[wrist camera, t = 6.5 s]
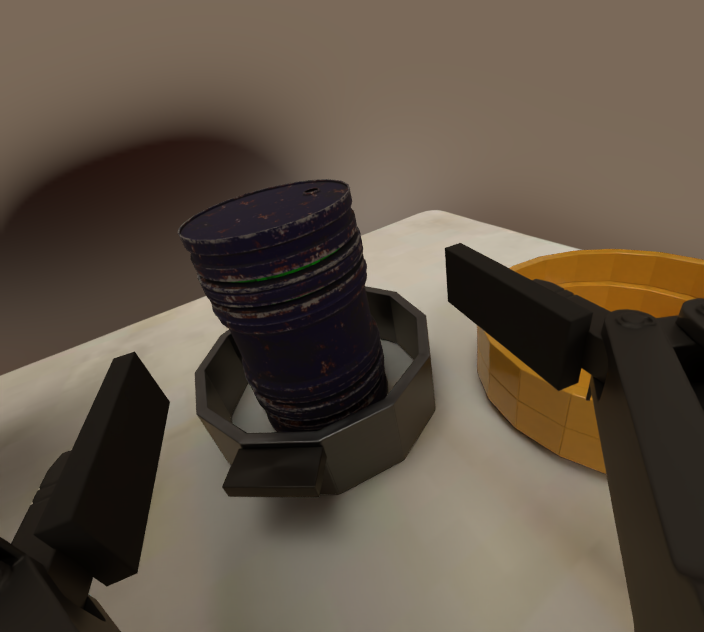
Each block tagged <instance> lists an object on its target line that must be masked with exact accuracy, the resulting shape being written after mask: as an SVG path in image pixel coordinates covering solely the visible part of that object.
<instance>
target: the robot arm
mask: <svg viewBox="0 0 704 632" xmlns="http://www.w3.org/2000/svg"><path fill="white" fill-rule="evenodd" d="M445 258H446V275H447V292H448V302H449V303H451V304H452V305H453V306H454V307H456V308H457V309H458V310H459V311H460V312H462V313H463V314H464V315H465V316H467V317H468V318H469V319H470V320H472V321H473V322H474V323H475V324H476V325H478V326H479V327H480V328H481V329H483V330H484V331H485V332H486V333H488V334H489V335H490V336H491V337H492V338H494V339H495V340H496V341H497V342H499V343H500V344H501V345H502V346H504V347H505V348H506V349H507V350H508V351H510V352H511V353H512V354H513V355H515V356H516V357H517V358H518V359H520V360H521V361H522V362H523V363H524V364H526V365H527V366H528V367H529V368H531V369H532V370H533V371H534V372H536V373H537V374H538V375H539V376H540V377H542V378H543V379H544V380H545V381H547V382H548V383H549V384H550V385H552V386H553V387H554V388H555V389H556V390H558V391H560V390H563V389H565V388H567V387H570V386H572V385H574V384H576V383H578V382H579V377H580V373H581V368H582V369H583V370H585V371H586V372H588V373H589V374H591V378H590V383H589V387H588V391H587V395H586V401H590V398H591V396H592V399H593V404H594V410H595V415H596V421H597V426H598V431H599V437H600V442H601V448H602V453H603V458H604V464H605V469H606V475H607V480H608V485H609V491H610V496H611V501H612V507H613V512H614V518H615V523H616V528H617V534H618V539H619V545H620V550H621V555H622V561H623V566H624V572H625V577H626V582H627V588H628V593H629V598H630V604H631V609H632V615H633V621H634V632H704V298H696V299H691V300H687V301H686V302H684V303H683V304H682V307H681V309H680V312H679V315H676V316H668V317H661V318H655V317H654V316H652V315H650V314H648V313H645V312H641V311H638V310H630V309H622V310H615V311H611V312H610V311H608V310H606V309H604V308H602V307H600V306H598V305H596V304H594V303H592V302H590V301H588V300H586V299H584V298H582V297H580V296H578V295H574V293H572V292H570V291H568V290H564V288H562V287H560V286H558V285H556V284H554V283H552V282H549V281H544V280H540V279H534V280H530V279H528V278H527V277H525V276H523V275H521V274H519V273H517V272H515V271H513V270H511V269H509V268H507V267H505V266H504V265H502V264H500V263H498V262H496V261H494V260H492V259H490V258H488V257H486V256H484V255H483V254H481V253H479V252H477V251H475V250H473V249H471V248H469V247H467V246H465V245H463V244H462V243H459V244H456V245H453V246H450V247H447V248H445ZM169 404H170V402H169V400H168V399H167V397H166V396H165V394H164V393H163V391H162V390H161V389H160V387H159V386H158V384H157V383H156V381H155V380H154V379H153V377H152V376H151V374H150V373H149V371H148V370H147V368H146V367H145V366H144V364H143V363H142V361H141V360H140V358H139V357H138V356H137V354H136V353H135V352H132V353H129V354H126V355H123V356H120V357H117V358H114V359H113V361H112V363H111V366H110V368H109V370H108V372H107V374H106V376H105V379H104V381H103V383H102V385H101V387H100V390H99V392H98V394H97V396H96V398H95V400H94V403H93V405H92V407H91V409H90V411H89V414H88V416H87V418H86V420H85V422H84V424H83V427H82V429H81V431H80V433H79V435H78V438H77V440H76V442H75V444H74V446H73V448H72V450H71V451H68V452H65V453H62V454H61V456H60V457H59V458H58V459H57V460H56V461H55V463H54V464H53V465H52V466H51V467H50V469H49V470H48V471H47V473H46V475H45V477H44V479H43V481H42V483H41V485H40V487H39V488H40V490H38V491H37V493H36V495H35V497H34V499H33V501H32V502H33V504H32V505H30V507H29V509H28V511H27V513H26V515H25V517H24V519H23V521H22V523H21V525H20V527H19V529H18V531H17V533H16V535H15V537H14V539H13V541H12V543H11V544H10V543H9V542H7V541H6V540H4V539H3V538H1V537H0V632H121V631H120V630H119V628H118V627H117V626H116V624H115V623H114V622H113V621H112V619H111V618H110V617H109V615H108V614H107V613H106V612H105V610H104V609H103V608H102V606H101V605H100V604H99V602H98V601H97V600H96V599H95V598H93V597H92V596H90V595H89V594H88V593H89V590H90V586H91V583H92V579H93V577H94V578H95V579H97V580H98V581H100V582H101V583H103V584H104V585H105V586H109V585H111V584H114V583H116V582H118V581H121V580H123V579H125V578H127V577H130V576H132V575H134V574H137V572H138V567H139V562H140V557H141V551H142V546H143V541H144V536H145V530H146V525H147V520H148V514H149V509H150V504H151V499H152V493H153V488H154V483H155V478H156V472H157V467H158V462H159V456H160V451H161V446H162V441H163V435H164V430H165V425H166V419H167V414H168V409H169Z"/></svg>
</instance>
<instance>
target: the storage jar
mask: <svg viewBox="0 0 704 632" xmlns="http://www.w3.org/2000/svg"><path fill="white" fill-rule="evenodd" d="M351 204H352V198H351V193H350V188H349V185H348V184H347V183H345V182H343V181H339V180H329V179H322V180H308V181H301V182H294V183H288V184H283V185H278V186H274V187H269V188H266V189H262V190H258V191H254V192H251V193H248V194H244V195H241V196H238V197H235V198H232V199H230V200H227V201H224V202H222V203H219V204H217V205H214V206H212V207H210V208H208V209H206V210H204V211H202V212H200V213H198V214H196V215H195V216H193V217H191V218H190V219H188V220H187V221H186V222H184V223H183V224H182V225H181V227H180V228H179V230H178V234H179V236H180V238H181V240H182V242H183V244H184V247H185V248H186V249H187V250H188V251H189V252H190V253H191V261H192V263H193V265H194V267H195V269H196V271H197V275H198V280H199V282H200V284H201V286H202V288H203V290H204V292H205V294H206V296H207V297H208V299H210V301H211V304H212V308H213V312H214V313H215V315H216V316H217V317H218V318H219V320H220V321H221V323H222V324H223V325H224V326H226V327H227V328H229V330H230V332H231V334H232V336H233V338H234V340H235V342H236V344H237V346H238V349H239V351H240V353H241V355H242V357H243V360H242V365H243V369H244V373H245V377H246V379H247V381H248V383H249V384H250V385H251V387H252V390H253V392H254V394H255V396H256V398H257V400H258V402H259V404H260V405H261V406H262V407H263V408H264V410H265V412H266V413H267V416H268V419H269V421H270V423H271V424H272V426H273V428H274V429H275V430H276V431H277V432H303V431H318V430H321V429H323V428H325V427H327V426H329V425H331V424H333V423H335V422H337V421H339V420H341V419H343V418H345V417H348V416H350V415H352V414H354V413H356V412H358V411H360V410H362V409H364V408H366V407H368V406H370V405H373V404H375V403H377V402H379V401H381V400H383V399H385V397H386V396H387V391H388V384H387V378H386V374H385V371H384V355H383V349H382V345H381V341H380V333H379V329H378V327H377V324H376V321H375V320H374V318H373V317H372V316H371V314H370V309H369V304H368V299H367V294H366V289H365V283H366V279H367V273H366V269H367V264H366V261H365V259H364V257H363V246H362V240H361V236H360V231H359V228H358V227H357V224H356V219H355V214H354V211H353V210H352V209H351Z"/></svg>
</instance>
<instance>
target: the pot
mask: <svg viewBox="0 0 704 632" xmlns="http://www.w3.org/2000/svg"><path fill="white" fill-rule="evenodd" d="M365 289H366V294H367V299H368V304H369V309H370V314H371V316H372V317H373V318H374V320H375V321H376V324H377V327H378V329H379V333H380V338H381V339H385V340H388V341H392V342H395V343H398V344H399V345H400V346H401V347H402V349H403V350H404V351H405V352H406V353H407V354H408V355H409V356H410V357H411V358H412V359H413V360H414V361H413V363H412V364H411V365H410V366H409V368H408V369H407V370H406V372H405V373H404V374H403V375H402V377H401V378H400V379H399V381H398V382H397V383H396V384H395V386H394V387H393V388H392V390H391V391H390V392H389V393H388V395H387V396H386V397H385V399H383V400H381V401H379V402H377V403H375V404H373V405H370V406H368V407H366V408H364V409H362V410H360V411H358V412H356V413H354V414H352V415H350V416H348V417H345V418H343V419H341V420H339V421H337V422H335V423H333V424H331V425H329V426H327V427H325V428H323V429H321V430H318V431H303V432H272V433H246V432H244V431H243V430H241V429H240V428H238V427H237V426H235V425H234V424H232V419H231V416H232V414H233V412H234V410H235V408H236V406H237V404H238V402H239V400H240V398H241V396H242V394H243V392H244V390H245V388H246V386H247V384H248V381H247V379H246V377H245V373H244V369H243V365H242V360H243V357H242V355H241V353H240V351H239V349H238V346H237V344H236V342H235V340H234V338H233V336H232V334H231V332H230V330H228V331H226V332H225V333H223V334H222V335H221V336H220V337H219V339H218V340H217V341H216V343H215V344H214V346H213V347H212V349H211V350H210V352H209V353H208V354H207V356H206V357H205V359H204V360H203V362H202V363H201V365H200V366H199V367H198V369H197V370H196V372H195V389H196V414H197V416H198V417H199V419H200V420H201V422H202V423H203V425H204V426H205V428H206V429H207V431H208V432H209V434H210V436H211V437H212V439H213V440H214V442H215V443H216V445H217V446H218V448H219V449H220V451H221V452H222V454H223V455H224V457H225V459H226V460H227V462H228V463H229V464H231V467H230V470H229V472H228V474H227V477H226V479H225V481H224V484H223V486H222V488H223V489H224V491H225V492H226V493H227V495H228V496H229V497H319V496H320V494H322V495H338V494H341V493H343V492H345V491H347V490H349V489H350V488H352V487H354V486H356V485H358V484H360V483H362V482H363V481H365V480H367V479H369V478H371V477H373V476H375V475H377V474H378V473H380V472H382V471H384V470H386V469H388V468H390V467H392V466H393V465H395V464H397V463H399V462H401V461H403V460H404V459H405V458H406V456H407V454H408V453H409V451H410V450H411V448H412V446H413V445H414V443H415V442H416V440H417V438H418V437H419V435H420V434H421V432H422V430H423V429H424V427H425V426H426V424H427V423H428V421H429V419H430V418H431V416H432V415H433V413H434V411H435V399H434V389H433V379H432V368H431V358H430V348H429V339H428V330H427V320H426V315H425V314H423V313H422V312H421V311H420V310H418V309H417V308H416V307H415V306H413V305H412V304H411V303H409V302H408V301H407V300H406V299H404V298H403V297H402V296H400V295H399V294H398V293H397V292H393V291H388V290H382V289H377V288H371V287H366V286H365Z"/></svg>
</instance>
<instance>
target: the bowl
mask: <svg viewBox="0 0 704 632" xmlns="http://www.w3.org/2000/svg"><path fill="white" fill-rule="evenodd" d="M509 269H511V270H513V271H515V272H517V273H519V274H521V275H523V276H525V277H527V278H528V279H530V280H534V279H540V280H544V281H549V282H552V283H554V284H556V285H558V286H560V287H562V288H564V290H568V291H570V292H572V293H574V295H578V296H580V297H582V298H584V299H586V300H588V301H590V302H592V303H594V304H596V305H598V306H600V307H602V308H604V309H606V310H608V311H610V312H611V311H615V310H622V309H630V310H638V311H641V312H645V313H648V314H650V315H652V316H654V317H655V318H661V317H668V316H676V315H679V312H680V309H681V307H682V304H683V303H684V302H686V301H687V300H691V299H696V298H704V260H702V259H697V258H691V257H685V256H680V255H674V254H669V253H663V252H660V253H659V252H652V251H638V250H623V249H601V250H577V251H570V252H564V253H558V254H552V255H546V256H542V257H541V256H540V257H537V258H535V259H532V260H529V261H526V262H523V263H520V264H517V265H514V266H512V267H510V268H509ZM477 372H478V375H479V377H480V379H481V382H482V384H483V386H484V389H485V391H486V394H487V396H488V398H489V400H490V401H491V402H492V403H493V404H494V405H495V406H496V407H497V409H498V410H499V411H500V412H501V413H502V414H503V415H504V416H505V417H506V418H507V419H508V421H509V422H510V423H511V424H512V425H513V426H514V427H516V429H518V430H519V431H521V432H522V433H524V434H525V435H527V436H529V437H530V438H532V439H533V440H535V441H536V442H538V443H539V444H541V445H542V446H544V447H546V448H547V449H549V450H550V451H552V452H553V453H555V454H556V455H559V456H560V457H563V458H565V459H568V460H570V461H573V462H576V463H578V464H581V465H584V466H586V467H589V468H591V469H594V470H597V471H599V472H602V473H605V474H606V469H605V464H604V458H603V453H602V448H601V442H600V437H599V431H598V426H597V421H596V415H595V410H594V404H593V399H592V396H591V398H590V401H586V395H587V391H588V387H589V383H590V378H591V374H589V373H588V372H586V371H585V370H583V369H582V368H581V373H580V377H579V382H578V383H576V384H574V385H572V386H570V387H567V388H565V389H563V390H560V391H558V390H556V389H555V388H554V387H553V386H552V385H550V384H549V383H548V382H547V381H545V380H544V379H543V378H542V377H540V376H539V375H538V374H537V373H536V372H534V371H533V370H532V369H531V368H529V367H528V366H527V365H526V364H524V363H523V362H522V361H521V360H520V359H518V358H517V357H516V356H515V355H513V354H512V353H511V352H510V351H508V350H507V349H506V348H505V347H504V346H502V345H501V344H500V343H499V342H497V341H496V340H495V339H494V338H492V337H491V336H490V335H489V334H488V333H486V332H485V331H484V330H483V329H481V328H480V327H479V326H478V325H477Z"/></svg>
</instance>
